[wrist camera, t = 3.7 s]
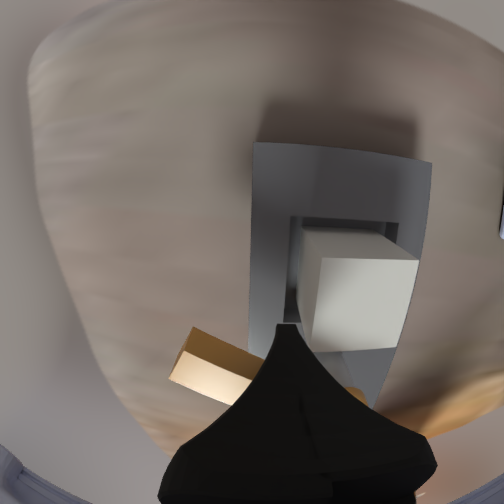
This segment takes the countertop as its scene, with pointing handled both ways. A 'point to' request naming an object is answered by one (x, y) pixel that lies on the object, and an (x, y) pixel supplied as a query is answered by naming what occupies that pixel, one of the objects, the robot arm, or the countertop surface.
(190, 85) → the countertop surface
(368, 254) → the plug
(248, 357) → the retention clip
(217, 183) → the countertop surface
